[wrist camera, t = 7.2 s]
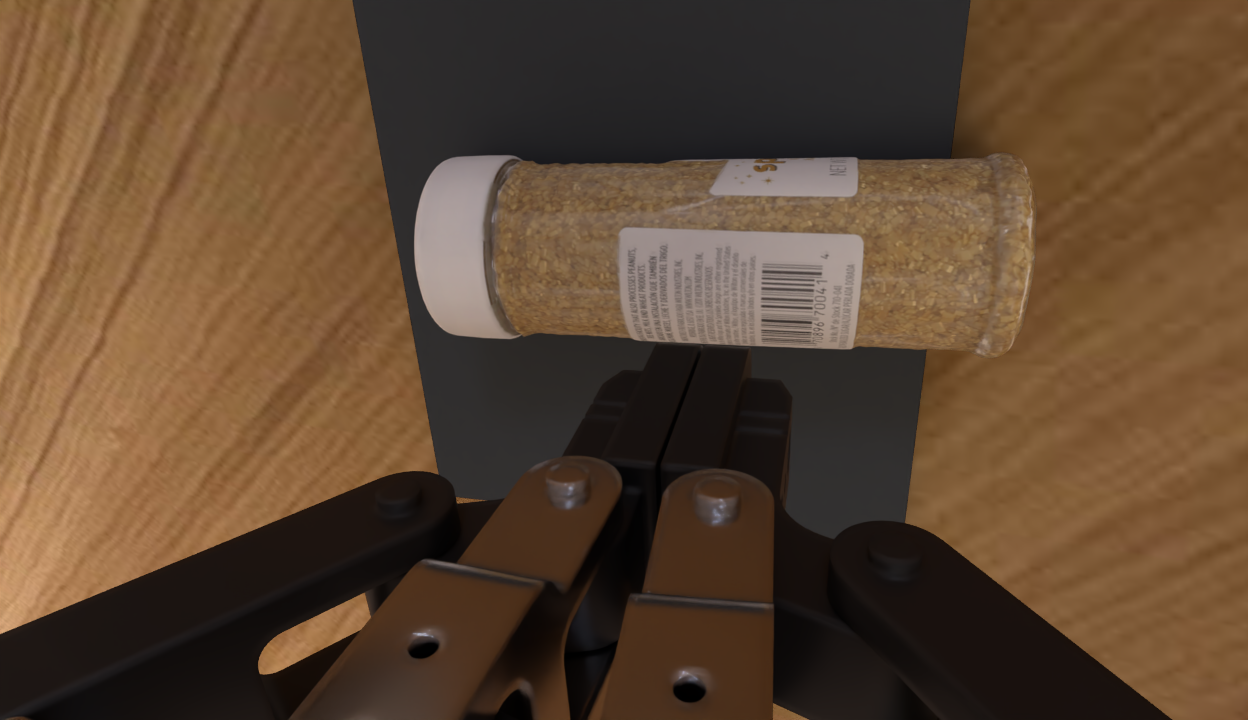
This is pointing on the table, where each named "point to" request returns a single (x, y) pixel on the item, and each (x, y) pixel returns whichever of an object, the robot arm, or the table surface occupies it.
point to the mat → (658, 133)
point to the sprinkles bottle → (732, 251)
